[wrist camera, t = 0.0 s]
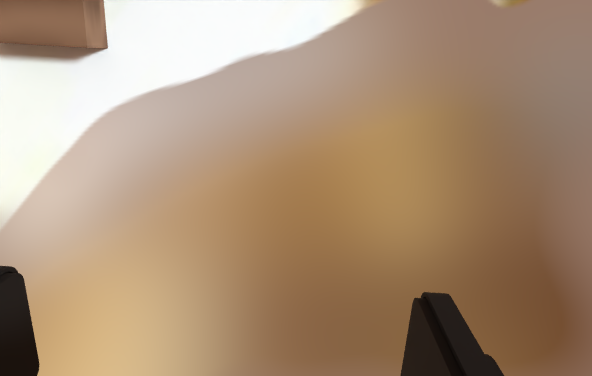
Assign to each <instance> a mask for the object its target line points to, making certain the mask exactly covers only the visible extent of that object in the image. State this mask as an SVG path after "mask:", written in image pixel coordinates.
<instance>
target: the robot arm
mask: <svg viewBox="0 0 592 376" xmlns="http://www.w3.org/2000/svg"><path fill="white" fill-rule="evenodd" d="M38 371H39V359H38V354H37V348H36V343H35V338H34V332H33V326H32V321H31V316H30V310H29V305H28V300H27V294H26V288H25V283H24V278H23V276H22V275H21V274H19V273H18V271H17V270H16V269H15V268H14V267H9V266H0V376H37V374H38ZM401 376H504V375H503V373H502V371H501V370H500V368H499V367H498V365H497V363H496V362H495V360H494V359H493V358H492V357H491V356H489V355H487V354H484V353H483V351H482V349H481V347H480V346H479V344H478V342H477V341H476V339H475V337H474V336H473V334H472V333H471V331H470V329H469V327H468V325H467V324H466V322H465V320H464V318H463V317H462V315H461V313H460V312H459V310H458V308H457V306H456V305H455V303H454V301H453V300H452V298H451V296H450V295H449V294H445V293H428V292H424V293H423V294H422V296H421V298H415V299H414V301H413V304H412V311H411V316H410V322H409V329H408V334H407V341H406V346H405V352H404V359H403V365H402V370H401Z"/></svg>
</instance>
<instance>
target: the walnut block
mask: <svg viewBox="0 0 592 376" xmlns="http://www.w3.org/2000/svg"><path fill="white" fill-rule="evenodd" d="M0 43H15V44H32V45H50V46H67V47H85V48H108V45H107V34H106V22H105V11H104V0H0Z"/></svg>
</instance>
